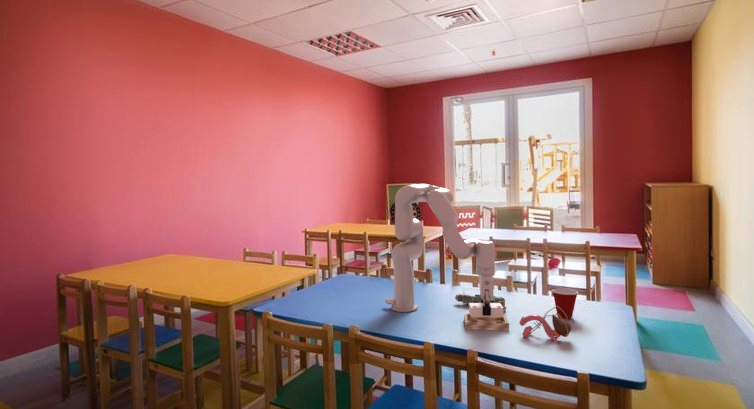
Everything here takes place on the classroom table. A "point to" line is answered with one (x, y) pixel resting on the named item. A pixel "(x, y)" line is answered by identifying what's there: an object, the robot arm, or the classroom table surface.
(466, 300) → the hoverbike
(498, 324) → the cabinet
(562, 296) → the plastic cup
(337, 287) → the classroom table surface
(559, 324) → the anatomy model
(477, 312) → the pale pink knobbed block
